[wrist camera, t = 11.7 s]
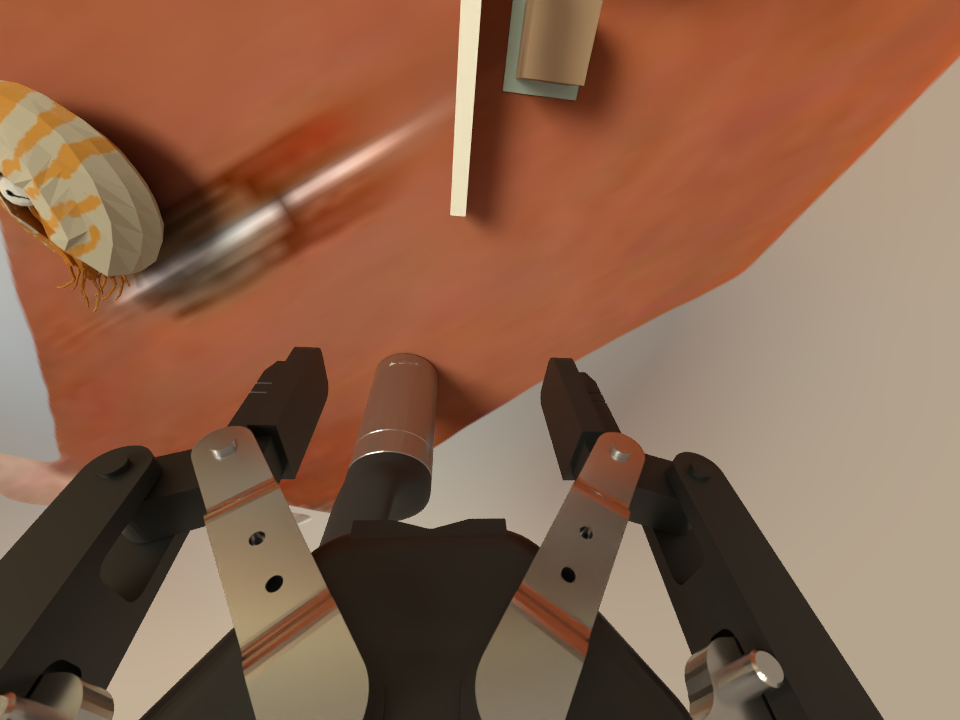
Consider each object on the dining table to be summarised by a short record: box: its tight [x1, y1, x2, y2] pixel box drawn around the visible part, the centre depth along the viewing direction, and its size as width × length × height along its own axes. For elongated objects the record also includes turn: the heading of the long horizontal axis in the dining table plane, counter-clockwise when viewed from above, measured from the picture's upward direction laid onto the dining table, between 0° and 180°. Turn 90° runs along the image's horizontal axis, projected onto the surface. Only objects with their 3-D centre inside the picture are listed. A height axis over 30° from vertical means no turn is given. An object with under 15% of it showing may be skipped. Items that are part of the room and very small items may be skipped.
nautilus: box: [0, 80, 164, 312], centre depth 35 cm, size 8×22×15 cm
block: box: [516, 0, 603, 86], centre depth 29 cm, size 5×5×5 cm
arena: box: [450, 0, 579, 216], centre depth 31 cm, size 22×16×5 cm
